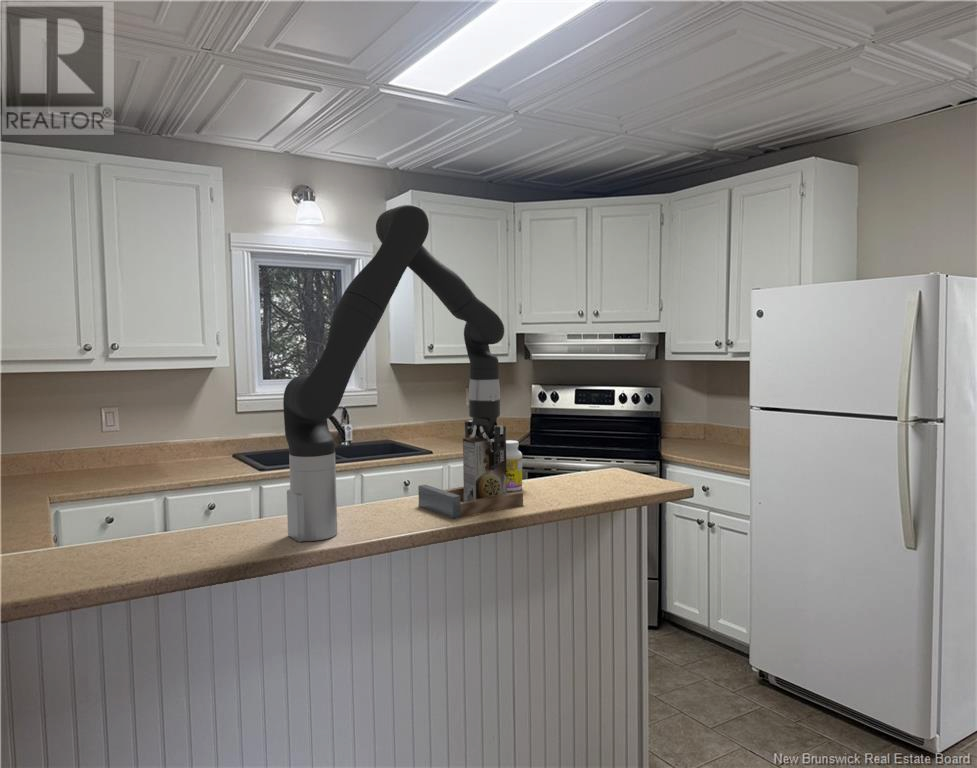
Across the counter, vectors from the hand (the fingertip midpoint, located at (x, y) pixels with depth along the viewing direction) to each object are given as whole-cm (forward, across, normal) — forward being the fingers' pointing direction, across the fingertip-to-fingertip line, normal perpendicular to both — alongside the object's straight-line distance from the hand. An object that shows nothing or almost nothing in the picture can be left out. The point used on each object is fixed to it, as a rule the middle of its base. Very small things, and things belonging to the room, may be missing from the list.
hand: (485, 465), depth 168 cm
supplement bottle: (+10, -8, +14) cm, 19 cm away
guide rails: (+9, 0, -3) cm, 10 cm away
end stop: (+9, 0, -14) cm, 16 cm away
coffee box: (+10, 0, 0) cm, 10 cm away
